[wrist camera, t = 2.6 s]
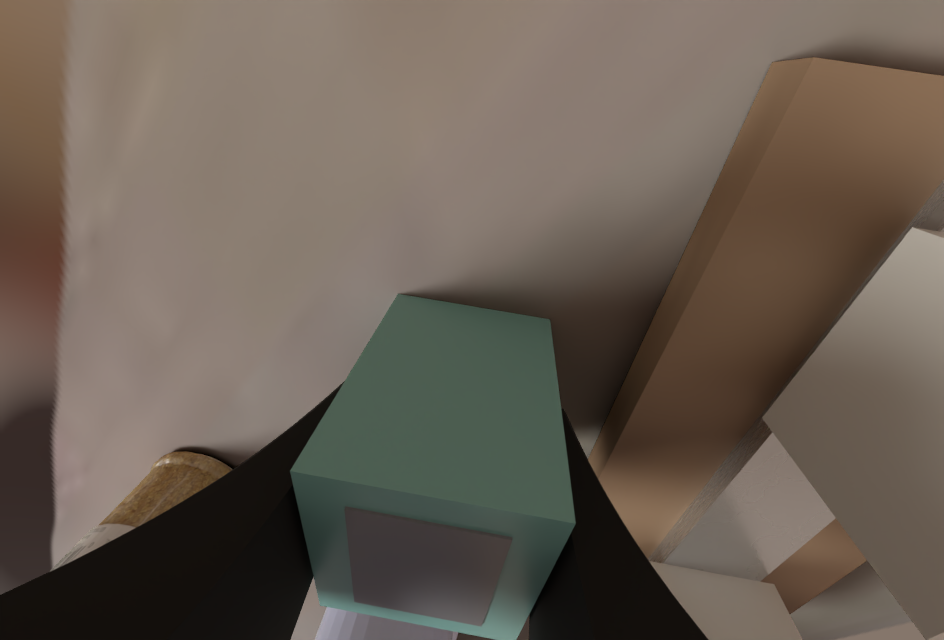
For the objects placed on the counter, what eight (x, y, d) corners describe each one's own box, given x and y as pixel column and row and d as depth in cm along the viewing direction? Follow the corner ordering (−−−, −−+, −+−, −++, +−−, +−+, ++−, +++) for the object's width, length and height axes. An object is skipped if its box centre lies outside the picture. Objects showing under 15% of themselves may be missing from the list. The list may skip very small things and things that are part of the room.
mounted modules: (709, 636, 16) (767, 807, 12) (605, 616, 16) (631, 779, 12) (1169, 267, 7) (2063, 509, 3) (911, 227, 7) (1423, 404, 3)
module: (516, 434, 13) (514, 646, 8) (395, 412, 14) (319, 608, 8) (550, 318, 11) (576, 527, 6) (398, 293, 11) (288, 473, 6)
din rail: (675, 632, 17) (680, 648, 17) (601, 618, 17) (603, 634, 17) (1204, 152, 6) (1265, 158, 6) (989, 121, 6) (1030, 123, 6)
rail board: (727, 619, 19) (739, 649, 18) (530, 581, 19) (531, 609, 18) (1318, 141, 7) (1457, 150, 6) (771, 62, 7) (813, 57, 6)
